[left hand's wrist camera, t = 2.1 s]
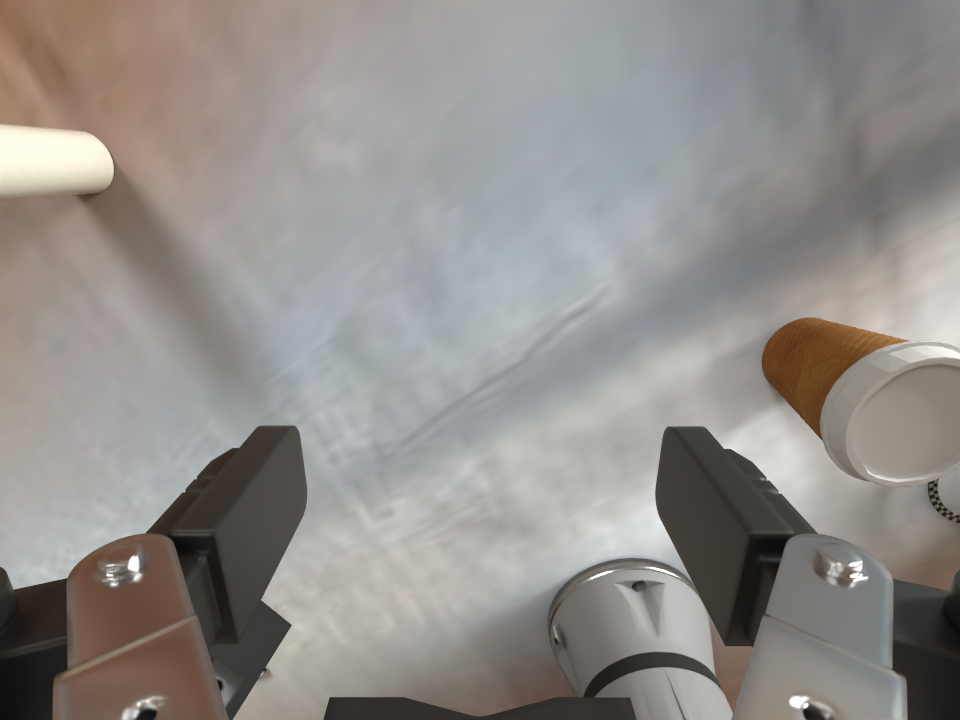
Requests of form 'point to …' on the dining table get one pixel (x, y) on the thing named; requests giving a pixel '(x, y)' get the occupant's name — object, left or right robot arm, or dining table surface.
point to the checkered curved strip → (938, 504)
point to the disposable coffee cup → (871, 398)
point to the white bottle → (51, 163)
